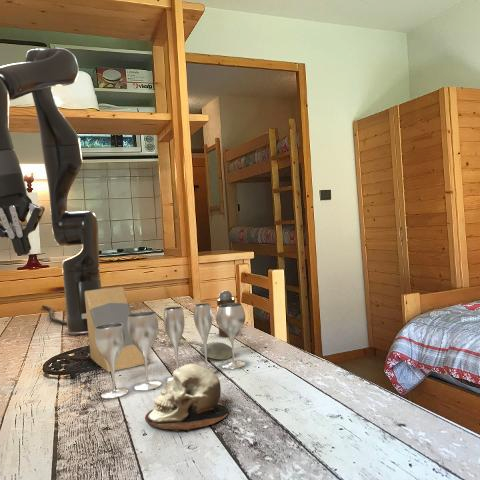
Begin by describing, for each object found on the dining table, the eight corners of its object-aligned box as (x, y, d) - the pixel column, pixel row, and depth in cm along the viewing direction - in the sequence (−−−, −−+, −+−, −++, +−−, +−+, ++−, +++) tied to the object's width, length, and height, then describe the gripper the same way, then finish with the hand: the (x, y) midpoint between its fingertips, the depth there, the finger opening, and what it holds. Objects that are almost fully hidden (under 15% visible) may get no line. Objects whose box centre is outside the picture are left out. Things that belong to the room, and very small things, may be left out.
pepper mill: (217, 334, 131) (214, 290, 130) (235, 331, 132) (232, 288, 132) (221, 337, 127) (217, 292, 126) (238, 335, 128) (235, 290, 128)
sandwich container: (107, 372, 102) (101, 297, 102) (89, 357, 115) (83, 291, 114) (150, 363, 108) (145, 291, 107) (128, 349, 120) (123, 285, 119)
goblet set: (104, 402, 86) (98, 323, 85) (96, 393, 90) (90, 318, 90) (253, 365, 102) (249, 298, 101) (240, 359, 107) (236, 295, 106)
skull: (151, 436, 68) (139, 367, 74) (149, 463, 75) (138, 398, 81) (239, 413, 73) (221, 350, 79) (229, 440, 81) (214, 381, 86)
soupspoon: (213, 366, 105) (239, 359, 110) (213, 349, 105) (239, 344, 109) (160, 346, 120) (185, 341, 125) (160, 332, 120) (185, 327, 125)
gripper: (41, 167, 111) (62, 245, 115) (-21, 178, 111) (2, 256, 114) (24, 169, 104) (47, 252, 107) (-42, 180, 103) (-17, 263, 107)
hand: (24, 254), depth 111 cm, fingers closed
